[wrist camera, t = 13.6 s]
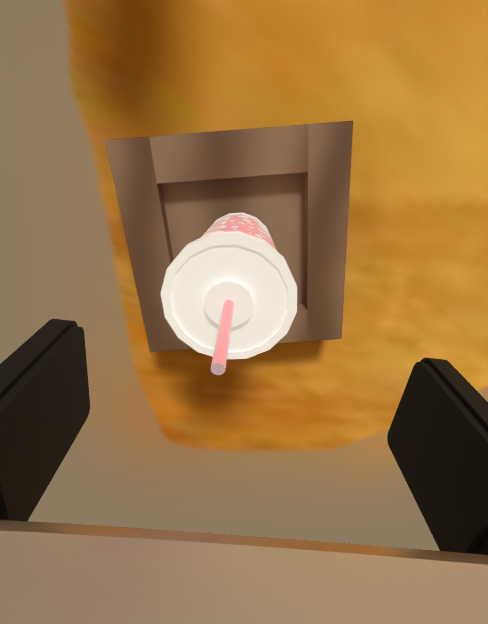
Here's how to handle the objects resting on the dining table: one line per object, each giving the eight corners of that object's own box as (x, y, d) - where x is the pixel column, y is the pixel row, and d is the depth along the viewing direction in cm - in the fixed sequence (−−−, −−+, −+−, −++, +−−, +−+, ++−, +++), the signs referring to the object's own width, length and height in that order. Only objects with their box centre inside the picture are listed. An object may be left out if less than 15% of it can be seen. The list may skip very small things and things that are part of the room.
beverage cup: (272, 188, 22) (294, 255, 9) (292, 278, 24) (329, 423, 12) (180, 213, 23) (87, 305, 10) (208, 297, 25) (161, 452, 13)
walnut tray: (334, 125, 23) (353, 120, 20) (327, 314, 29) (341, 338, 26) (126, 141, 24) (105, 140, 20) (161, 326, 30) (150, 352, 26)
